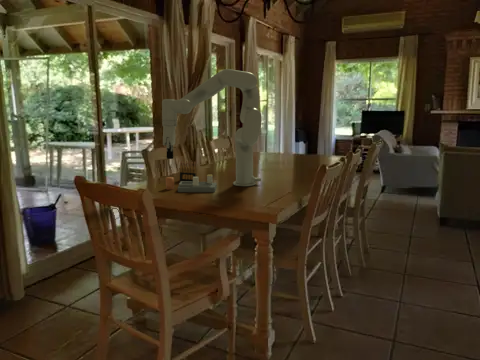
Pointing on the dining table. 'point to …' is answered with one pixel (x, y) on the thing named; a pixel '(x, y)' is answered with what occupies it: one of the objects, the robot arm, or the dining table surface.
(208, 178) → the switch tagged
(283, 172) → the dining table surface
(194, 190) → the panel
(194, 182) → the switch
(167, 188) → the lockout cap
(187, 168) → the ammunition clip
